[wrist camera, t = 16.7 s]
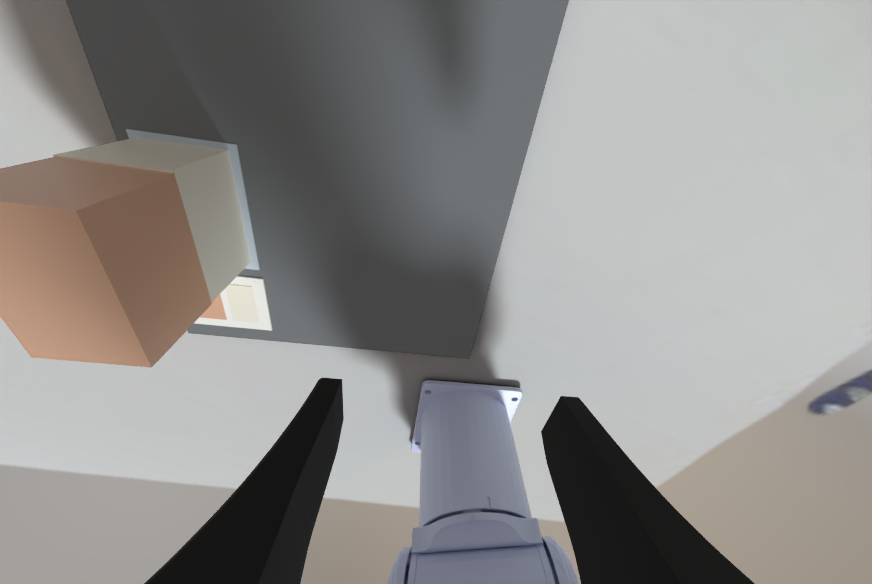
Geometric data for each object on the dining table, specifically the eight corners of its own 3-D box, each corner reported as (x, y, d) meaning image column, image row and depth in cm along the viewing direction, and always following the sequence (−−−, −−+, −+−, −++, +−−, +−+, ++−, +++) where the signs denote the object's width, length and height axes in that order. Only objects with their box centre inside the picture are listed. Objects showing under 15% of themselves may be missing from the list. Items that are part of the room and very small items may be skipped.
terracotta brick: (212, 303, 15) (151, 367, 12) (120, 294, 15) (31, 357, 12) (174, 173, 12) (75, 210, 9) (55, 156, 12) (-97, 189, 8)
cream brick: (251, 261, 19) (212, 302, 15) (176, 253, 18) (120, 293, 15) (228, 149, 15) (172, 170, 12) (137, 137, 15) (53, 154, 12)
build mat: (468, 352, 24) (469, 360, 23) (194, 327, 22) (187, 334, 21) (567, -14, 13) (575, -19, 12) (35, -123, 11) (12, -134, 10)
